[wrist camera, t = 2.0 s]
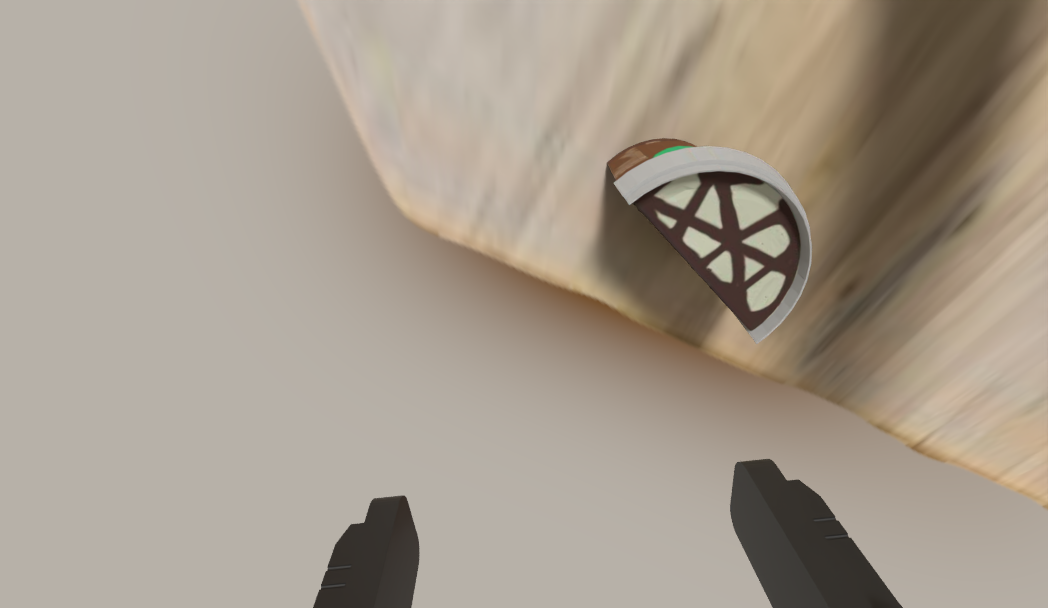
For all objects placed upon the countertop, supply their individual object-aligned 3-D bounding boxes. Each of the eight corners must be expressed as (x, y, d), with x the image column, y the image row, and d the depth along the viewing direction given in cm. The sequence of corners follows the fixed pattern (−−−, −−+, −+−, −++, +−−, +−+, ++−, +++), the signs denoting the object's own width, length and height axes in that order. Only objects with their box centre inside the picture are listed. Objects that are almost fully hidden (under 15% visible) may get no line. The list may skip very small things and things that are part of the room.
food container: (777, 211, 33) (868, 279, 25) (702, 268, 36) (762, 349, 27) (670, 70, 29) (736, 94, 20) (591, 146, 31) (621, 196, 22)
